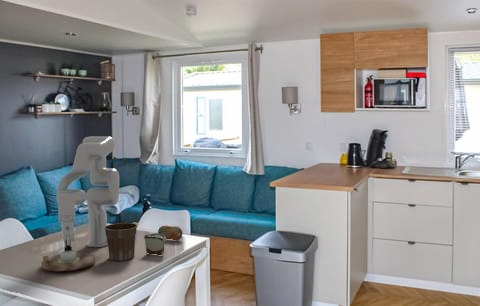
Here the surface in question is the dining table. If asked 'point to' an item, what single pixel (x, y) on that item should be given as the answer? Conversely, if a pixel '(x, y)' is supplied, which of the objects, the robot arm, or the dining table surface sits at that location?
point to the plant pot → (121, 240)
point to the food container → (155, 243)
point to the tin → (171, 232)
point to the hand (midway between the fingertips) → (68, 255)
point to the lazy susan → (56, 264)
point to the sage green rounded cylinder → (68, 256)
